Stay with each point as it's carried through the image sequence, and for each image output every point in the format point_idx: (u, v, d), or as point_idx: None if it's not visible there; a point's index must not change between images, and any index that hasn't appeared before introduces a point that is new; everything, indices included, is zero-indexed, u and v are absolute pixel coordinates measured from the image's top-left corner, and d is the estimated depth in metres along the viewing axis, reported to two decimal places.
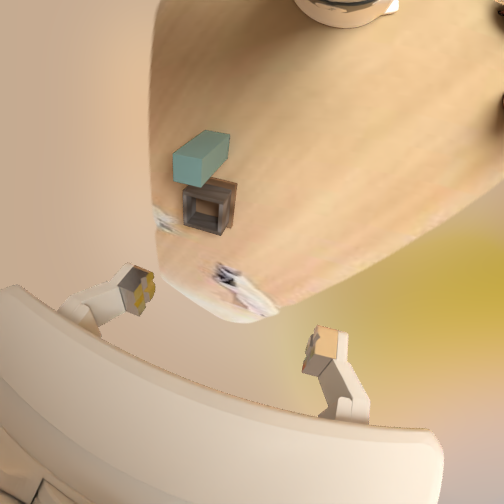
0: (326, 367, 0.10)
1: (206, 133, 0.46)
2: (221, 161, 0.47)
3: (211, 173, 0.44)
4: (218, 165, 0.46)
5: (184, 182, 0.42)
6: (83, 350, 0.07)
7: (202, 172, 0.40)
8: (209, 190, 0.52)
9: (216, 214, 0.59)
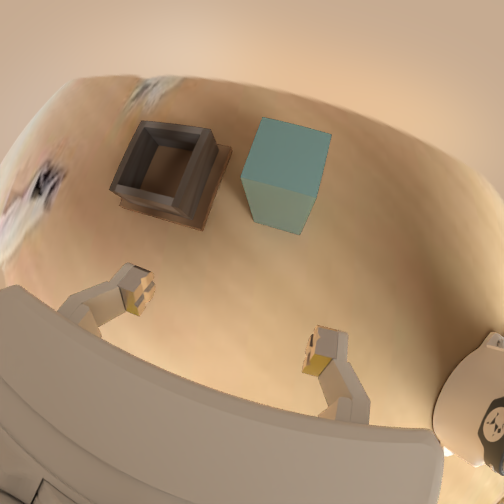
0: (326, 367, 0.10)
1: None
2: (259, 215, 0.26)
3: (252, 199, 0.21)
4: (256, 210, 0.24)
5: (257, 140, 0.17)
6: (83, 350, 0.07)
7: (277, 189, 0.17)
8: (199, 179, 0.27)
9: (147, 182, 0.30)
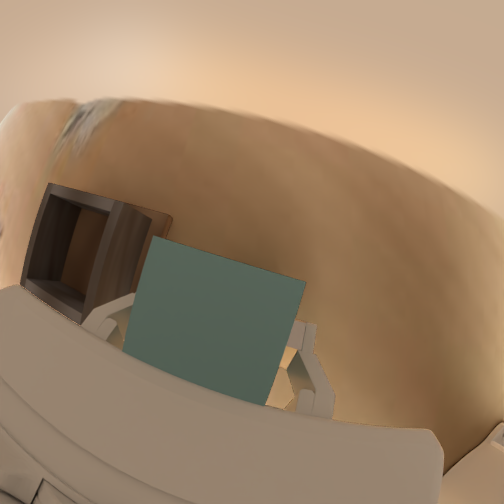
0: (293, 358, 0.11)
1: None
2: None
3: None
4: None
5: (141, 298, 0.08)
6: (83, 350, 0.07)
7: None
8: (119, 275, 0.18)
9: (70, 262, 0.20)
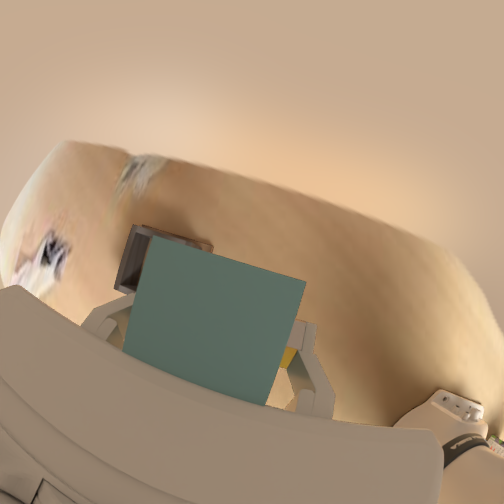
0: (293, 358, 0.11)
1: None
2: None
3: None
4: None
5: (141, 298, 0.08)
6: (83, 350, 0.07)
7: None
8: None
9: None
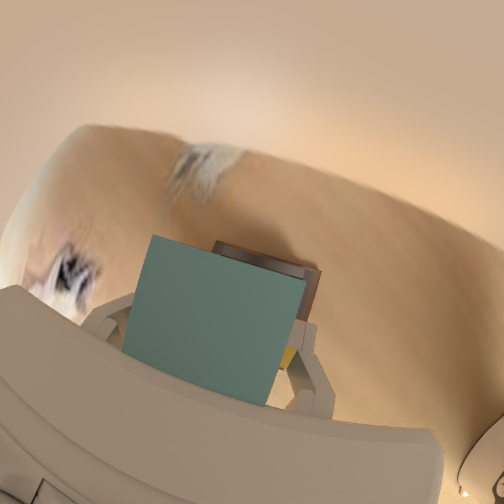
0: (293, 358, 0.11)
1: None
2: None
3: None
4: None
5: (140, 298, 0.08)
6: (83, 350, 0.07)
7: None
8: None
9: None
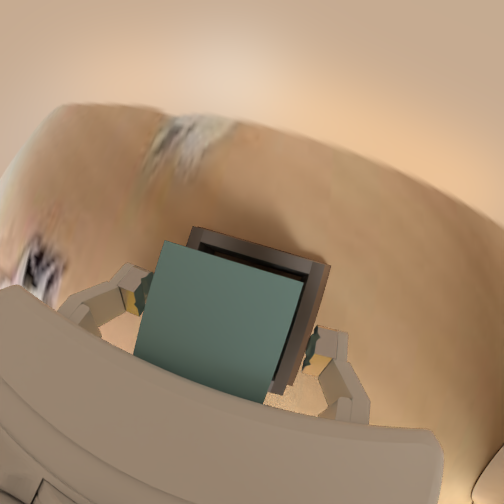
0: (326, 367, 0.10)
1: None
2: None
3: None
4: None
5: (153, 298, 0.09)
6: (83, 350, 0.07)
7: None
8: None
9: None
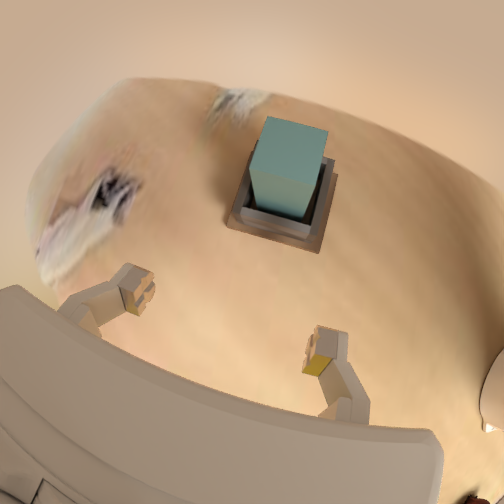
0: (326, 367, 0.10)
1: None
2: (263, 205, 0.28)
3: (258, 189, 0.24)
4: (261, 200, 0.27)
5: (263, 136, 0.20)
6: (83, 350, 0.07)
7: (281, 178, 0.20)
8: None
9: None
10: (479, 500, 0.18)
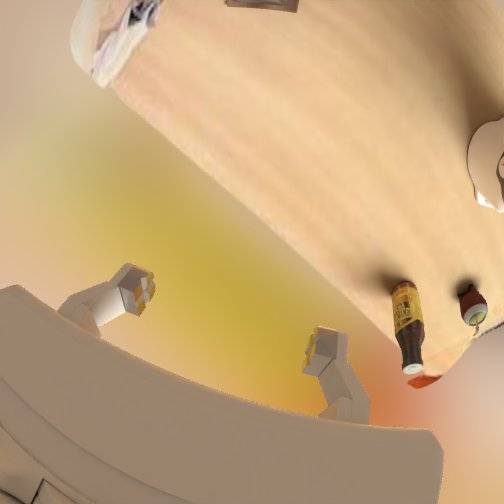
0: (326, 367, 0.10)
1: None
2: None
3: None
4: None
5: None
6: (83, 350, 0.07)
7: None
8: None
9: None
10: (478, 294, 0.44)
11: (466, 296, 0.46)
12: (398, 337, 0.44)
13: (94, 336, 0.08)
